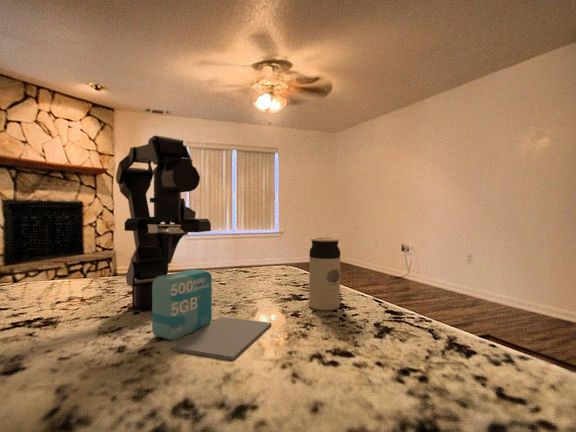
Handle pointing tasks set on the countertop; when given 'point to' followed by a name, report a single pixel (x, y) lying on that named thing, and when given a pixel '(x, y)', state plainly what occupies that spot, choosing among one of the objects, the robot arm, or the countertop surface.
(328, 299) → the travel mug
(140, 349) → the countertop surface
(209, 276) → the data package
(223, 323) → the mat
